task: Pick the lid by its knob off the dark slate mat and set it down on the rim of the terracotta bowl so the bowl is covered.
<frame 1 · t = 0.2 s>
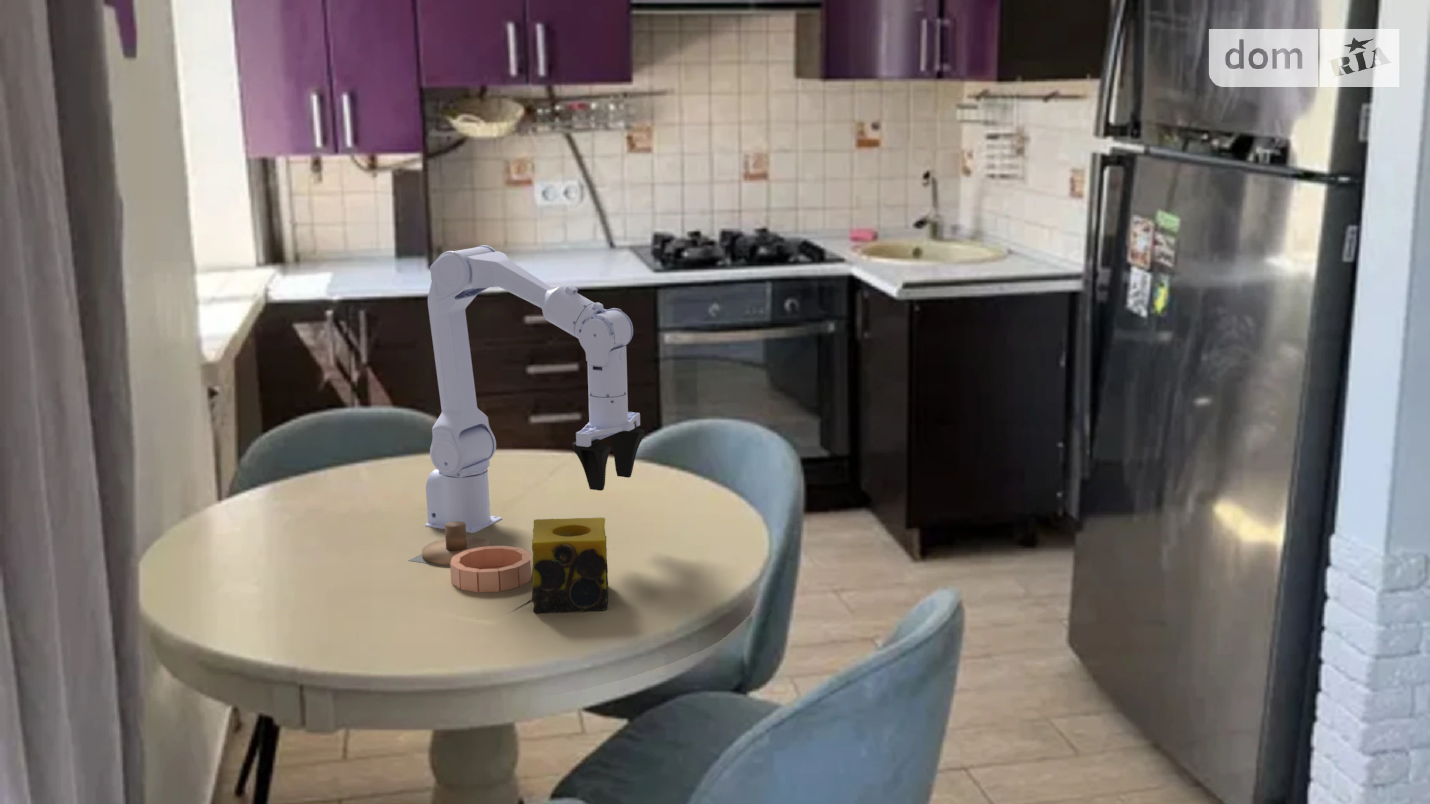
hand: (610, 482, 204), 10 cm above the table, fingers open, 7 cm apart
mat: (457, 556, 202), on the table
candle: (571, 600, 185), on the table
lid: (456, 554, 202), resting on mat
bowl: (492, 580, 192), on the table
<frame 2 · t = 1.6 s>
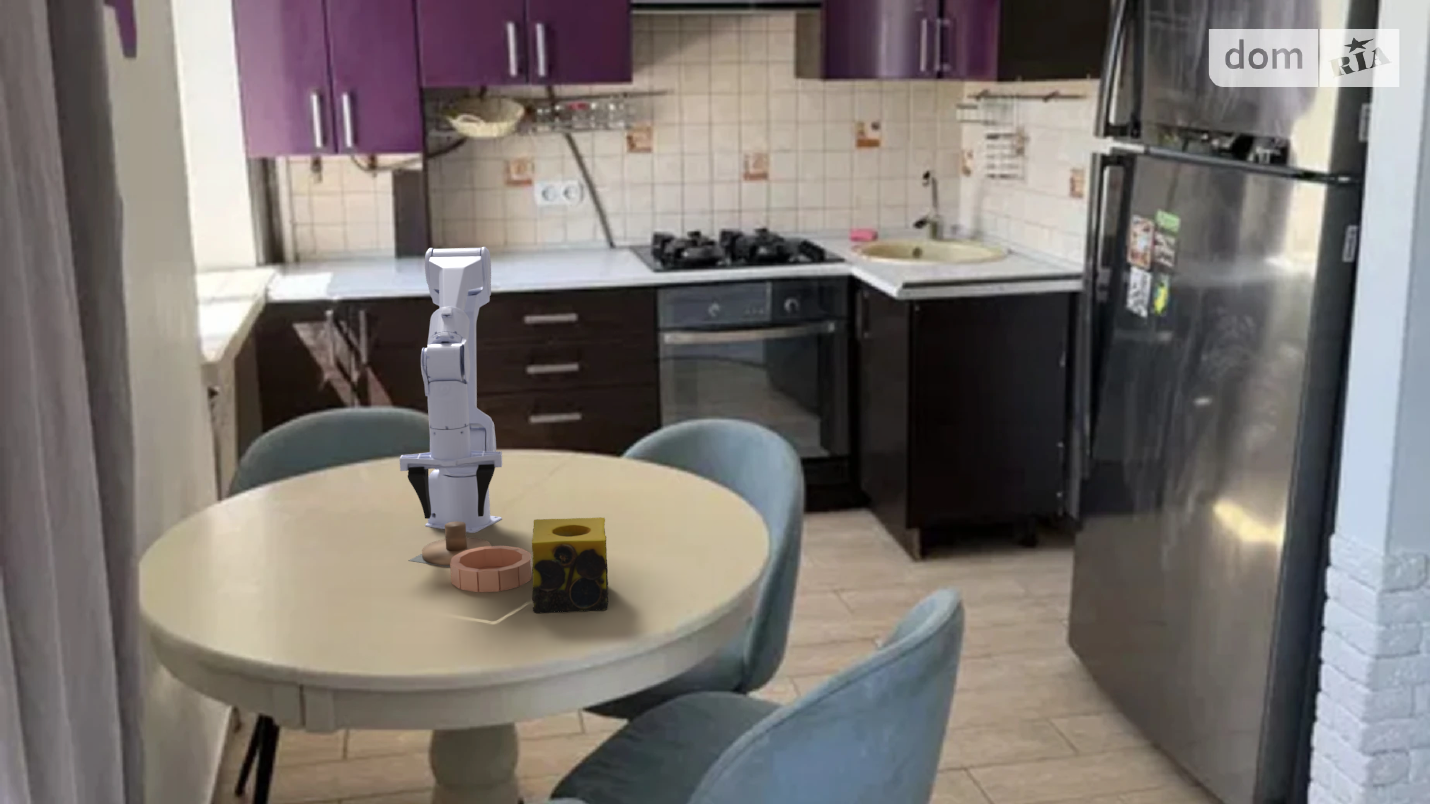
hand: (454, 515, 201), 6 cm above the table, fingers open, 7 cm apart
nothing on the table moved.
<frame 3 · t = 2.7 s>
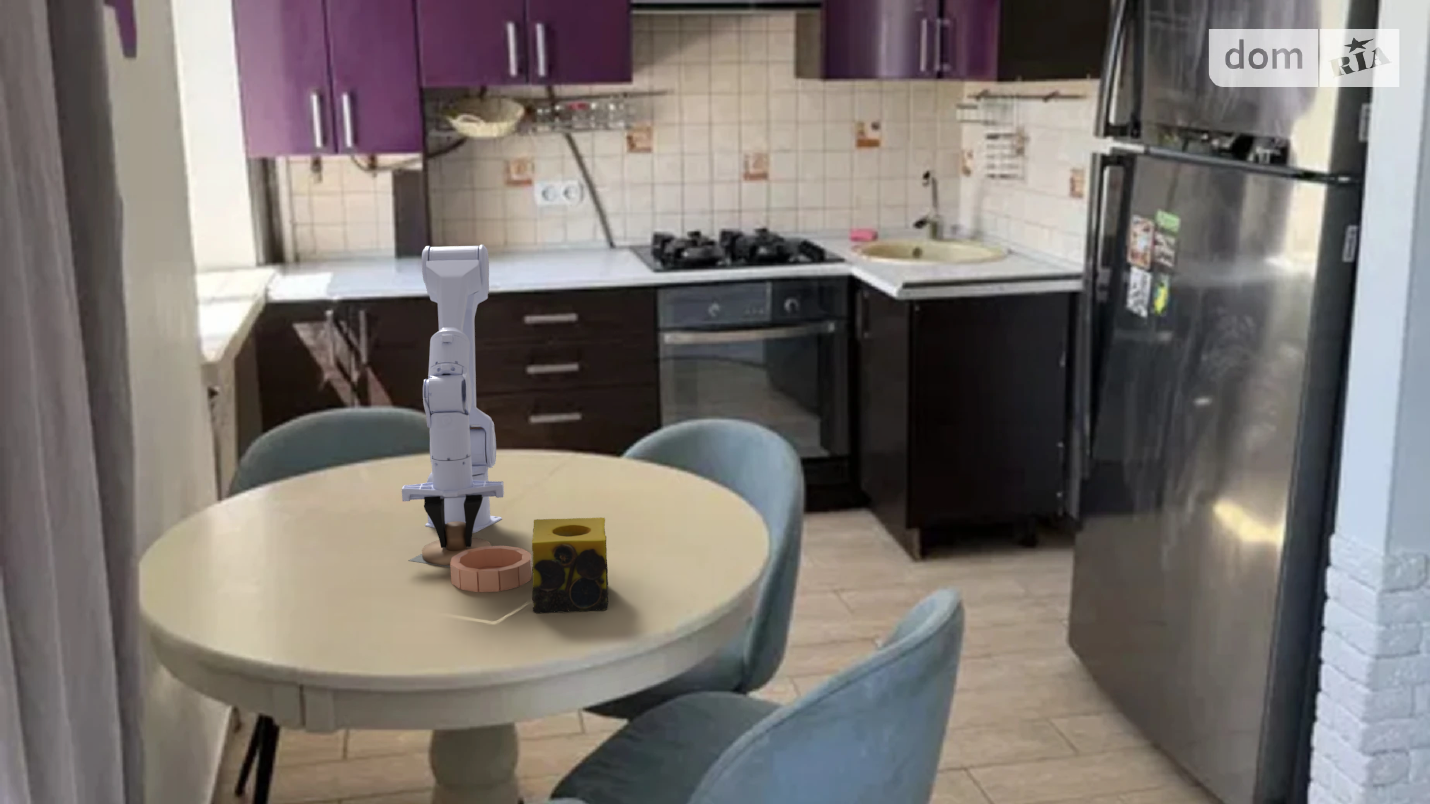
hand: (456, 545, 202), 2 cm above the table, fingers closed on lid, 3 cm apart
lid: (456, 554, 202), resting on mat, touching gripper
everything else where it was.
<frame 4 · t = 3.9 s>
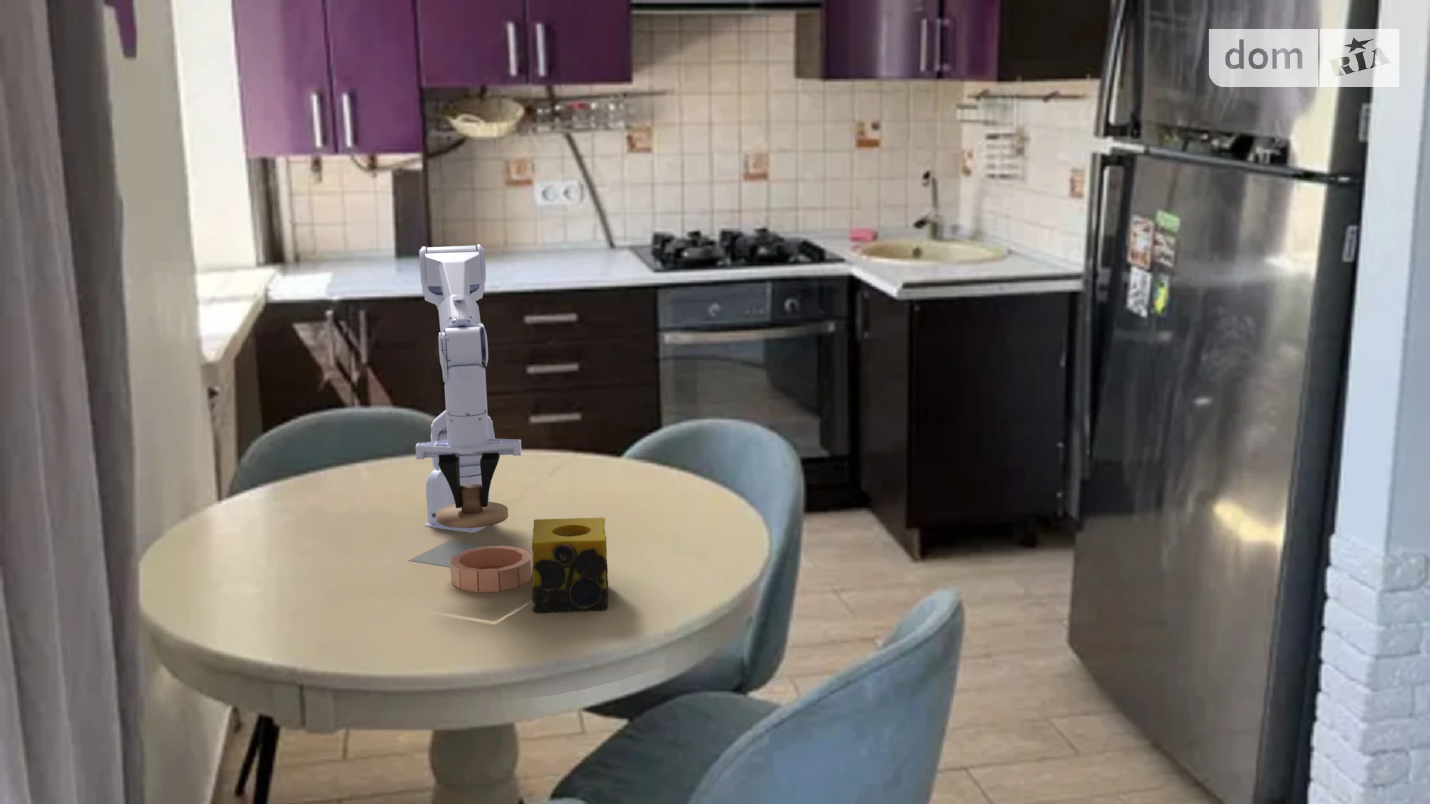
hand: (472, 505, 195), 10 cm above the table, fingers closed on lid, 3 cm apart
lid: (472, 517, 195), point 8 cm above the table, touching gripper
everything else where it was.
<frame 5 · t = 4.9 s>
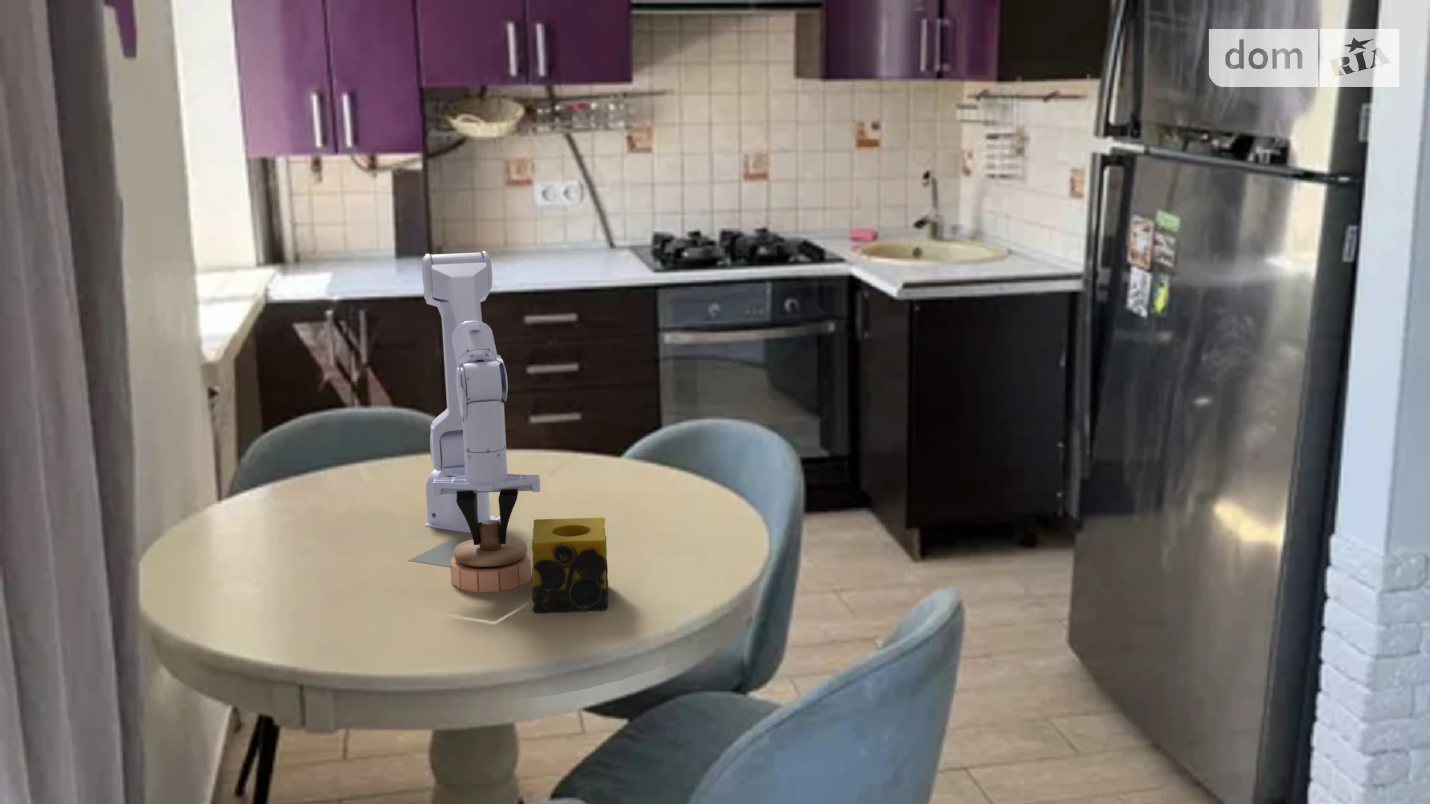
hand: (490, 542, 191), 6 cm above the table, fingers closed on lid, 3 cm apart
lid: (490, 554, 192), point 4 cm above the table, touching gripper
everything else where it was.
when the fingers open (5 cm above the table, at t = 5.3 s): lid stays where it is, resting on bowl.
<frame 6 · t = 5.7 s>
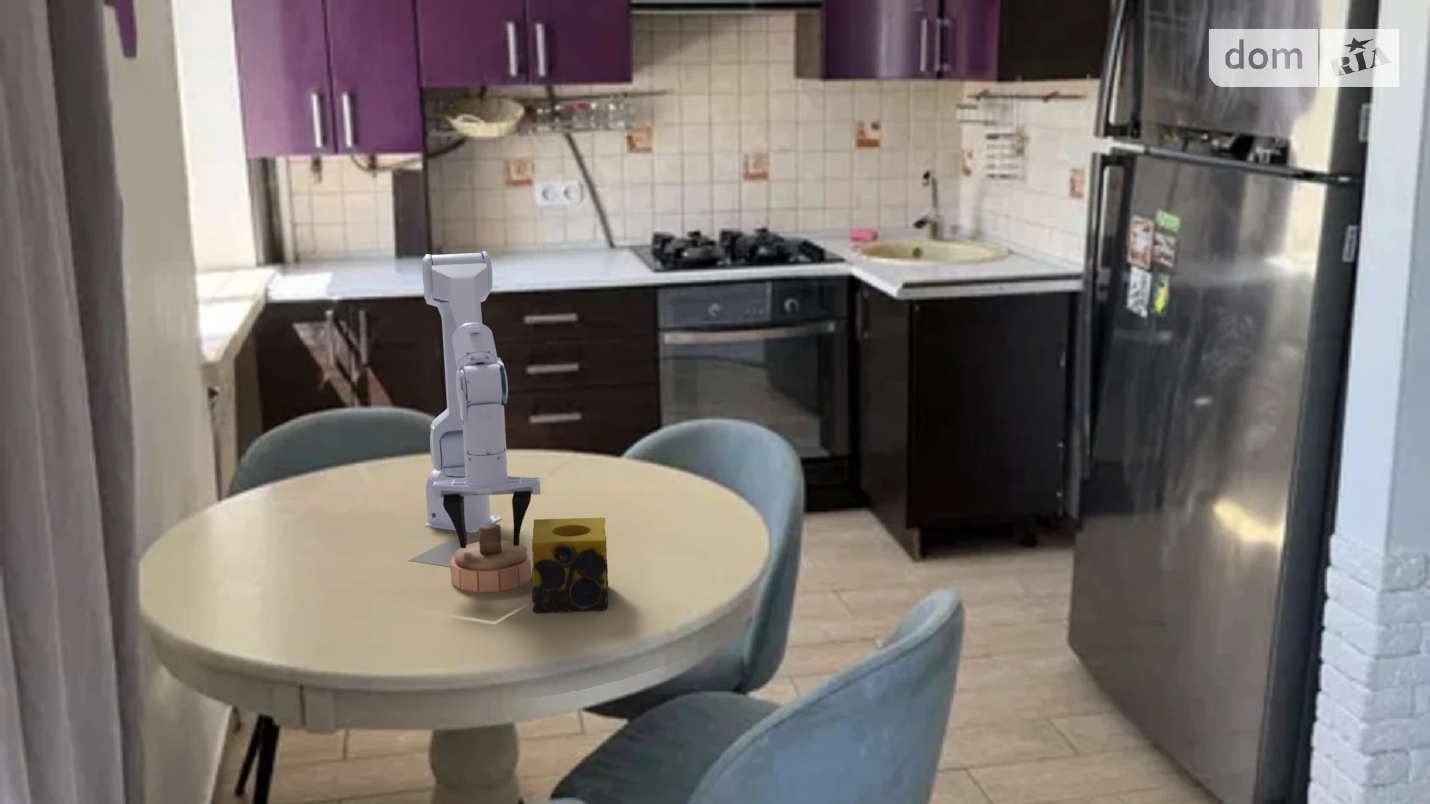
hand: (490, 544, 191), 5 cm above the table, fingers open, 7 cm apart
lid: (491, 558, 192), point 3 cm above the table, touching bowl
everything else where it was.
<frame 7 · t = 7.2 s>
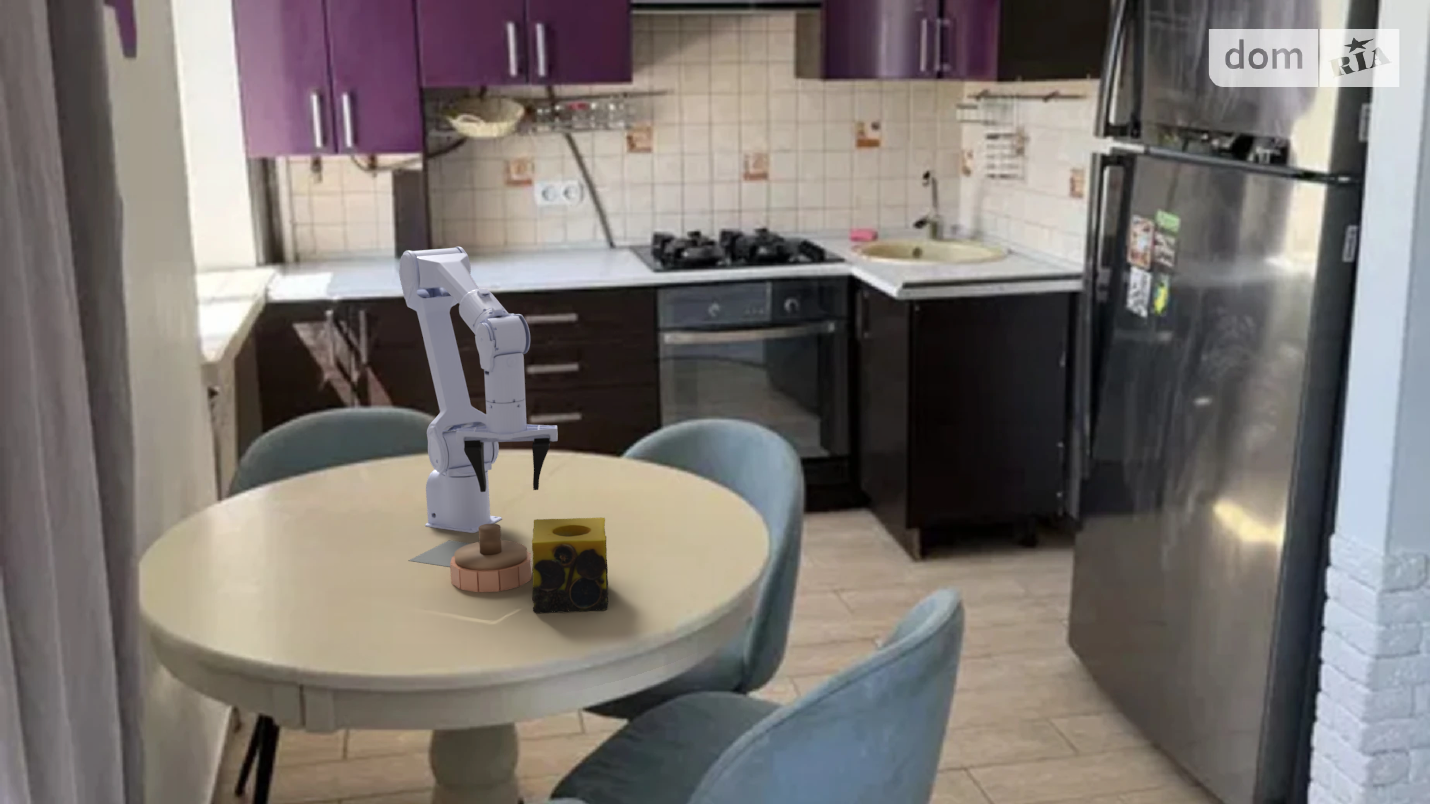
hand: (509, 489, 202), 10 cm above the table, fingers open, 7 cm apart
nothing on the table moved.
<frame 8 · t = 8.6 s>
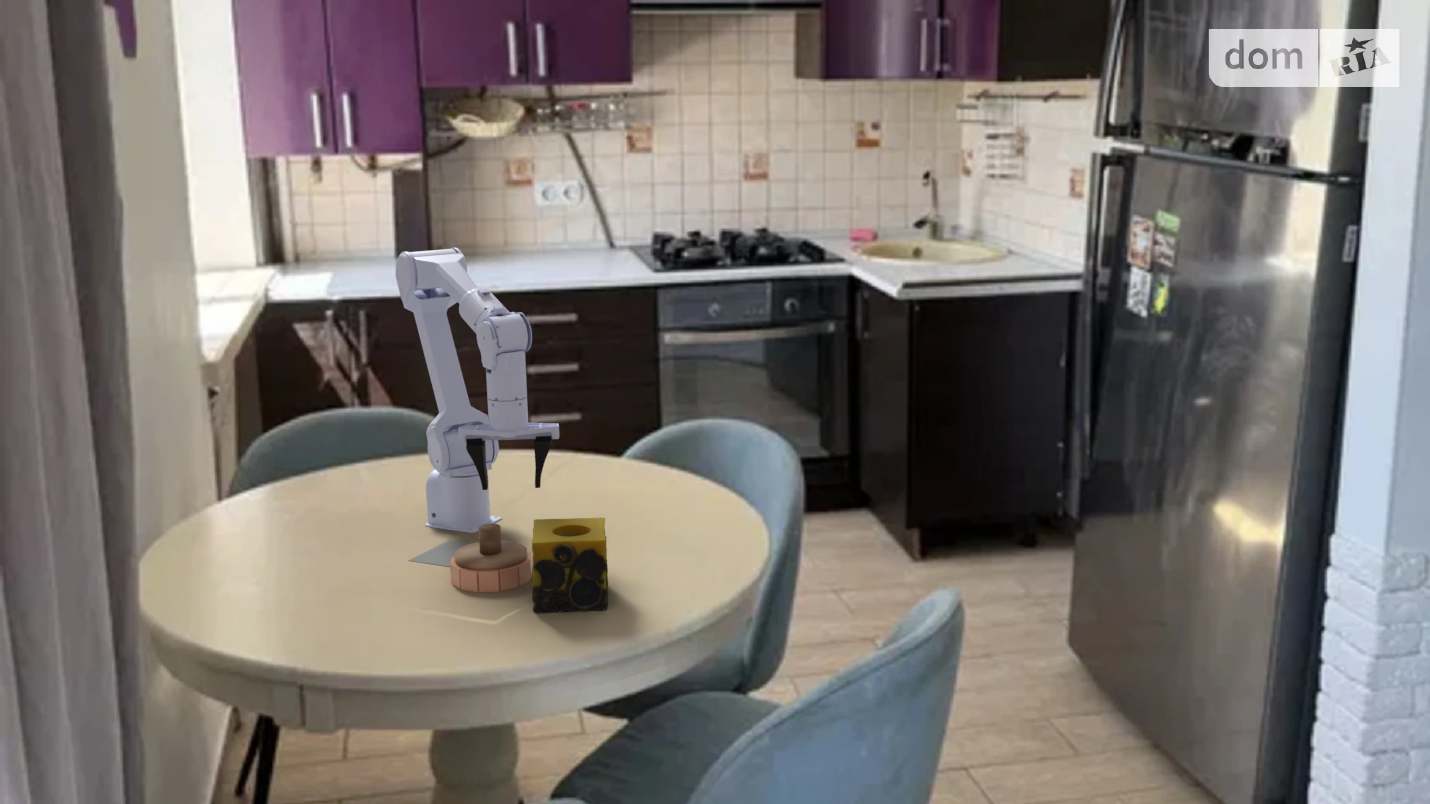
hand: (511, 487, 202), 10 cm above the table, fingers open, 7 cm apart
nothing on the table moved.
at the end: lid 0.0 cm from the bowl (horizontally); lid 0.0 cm off-centre on the bowl, point 3.2 cm above the bowl's base; lid tilted 0° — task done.
